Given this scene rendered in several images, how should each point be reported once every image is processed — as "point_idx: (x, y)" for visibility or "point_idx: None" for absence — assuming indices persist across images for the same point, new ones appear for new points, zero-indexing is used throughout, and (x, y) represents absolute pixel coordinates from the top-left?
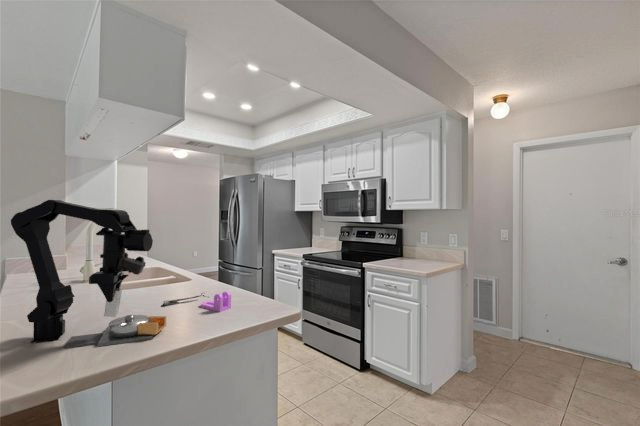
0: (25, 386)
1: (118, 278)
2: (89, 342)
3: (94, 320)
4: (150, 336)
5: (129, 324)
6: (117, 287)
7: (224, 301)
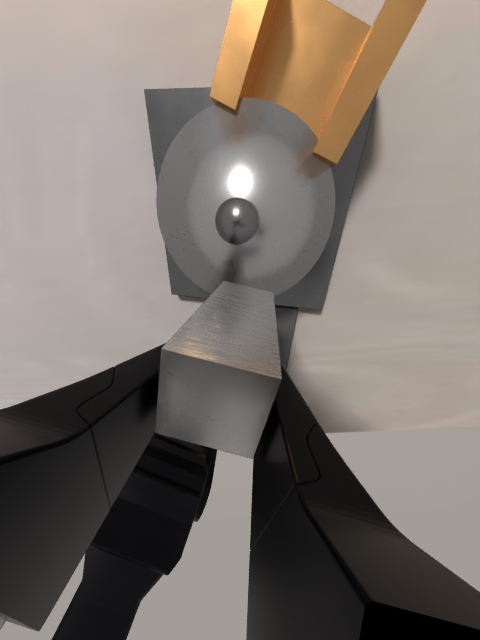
0: (477, 407)
1: (18, 529)
2: (284, 327)
3: (89, 326)
4: (375, 97)
5: (304, 214)
6: (142, 393)
7: None
